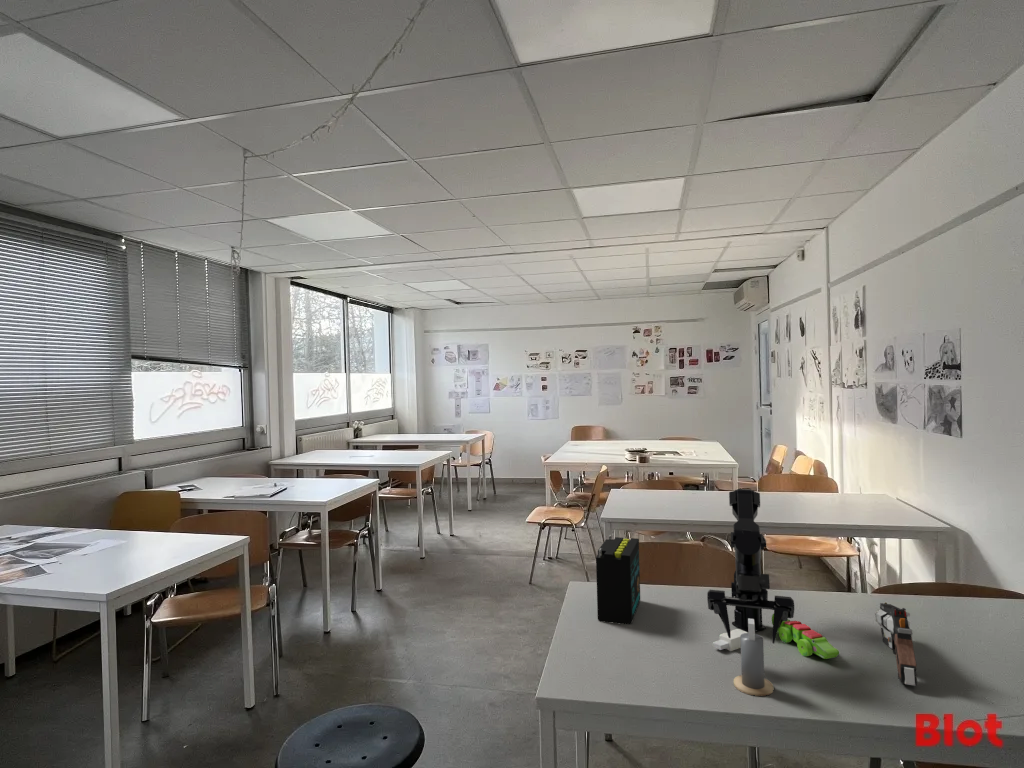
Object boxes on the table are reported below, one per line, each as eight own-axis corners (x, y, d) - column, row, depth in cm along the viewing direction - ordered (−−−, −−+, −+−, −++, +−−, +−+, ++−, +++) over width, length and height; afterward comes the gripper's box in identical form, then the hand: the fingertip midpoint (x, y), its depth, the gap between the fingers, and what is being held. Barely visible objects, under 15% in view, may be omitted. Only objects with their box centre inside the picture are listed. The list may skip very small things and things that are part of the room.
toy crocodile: (844, 664, 135) (844, 638, 135) (819, 667, 133) (818, 641, 134) (790, 630, 154) (789, 607, 154) (767, 633, 153) (767, 609, 153)
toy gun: (899, 665, 145) (894, 602, 149) (923, 687, 120) (917, 611, 124) (878, 662, 147) (873, 600, 151) (897, 683, 122) (891, 608, 126)
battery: (609, 597, 181) (607, 534, 182) (640, 600, 178) (638, 535, 178) (597, 621, 163) (595, 550, 164) (631, 625, 160) (629, 552, 160)
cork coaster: (754, 674, 131) (754, 672, 131) (782, 691, 123) (782, 688, 123) (725, 681, 128) (725, 678, 128) (751, 699, 120) (751, 696, 120)
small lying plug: (738, 640, 149) (737, 628, 149) (749, 645, 146) (749, 633, 146) (711, 649, 144) (710, 637, 144) (722, 654, 141) (722, 642, 141)
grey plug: (741, 676, 128) (739, 616, 129) (764, 680, 127) (762, 618, 127) (741, 687, 124) (740, 624, 124) (765, 690, 123) (763, 626, 123)
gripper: (706, 556, 139) (706, 620, 128) (792, 562, 132) (799, 630, 122) (708, 578, 146) (708, 640, 136) (790, 585, 139) (796, 651, 129)
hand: (751, 640), depth 130 cm, fingers open, 9 cm apart
